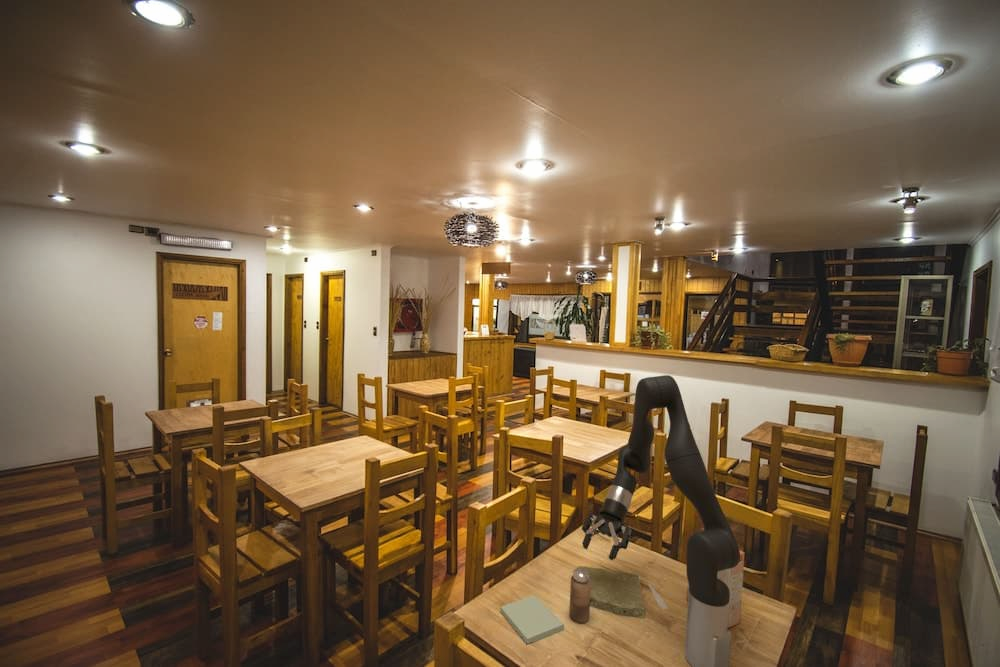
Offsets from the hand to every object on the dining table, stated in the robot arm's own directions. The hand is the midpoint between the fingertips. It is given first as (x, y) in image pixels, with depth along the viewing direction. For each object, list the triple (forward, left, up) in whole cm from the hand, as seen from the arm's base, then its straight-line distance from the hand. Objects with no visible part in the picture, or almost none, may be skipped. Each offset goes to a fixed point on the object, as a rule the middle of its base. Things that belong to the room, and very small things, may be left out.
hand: (597, 553), depth 133 cm
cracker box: (-19, -28, -15) cm, 37 cm away
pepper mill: (-3, +9, -15) cm, 18 cm away
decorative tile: (+1, -6, -16) cm, 17 cm away
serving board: (+2, +22, -15) cm, 26 cm away
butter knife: (0, -22, -15) cm, 27 cm away
